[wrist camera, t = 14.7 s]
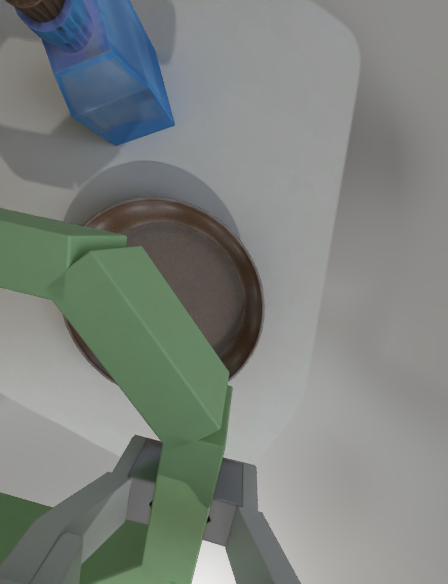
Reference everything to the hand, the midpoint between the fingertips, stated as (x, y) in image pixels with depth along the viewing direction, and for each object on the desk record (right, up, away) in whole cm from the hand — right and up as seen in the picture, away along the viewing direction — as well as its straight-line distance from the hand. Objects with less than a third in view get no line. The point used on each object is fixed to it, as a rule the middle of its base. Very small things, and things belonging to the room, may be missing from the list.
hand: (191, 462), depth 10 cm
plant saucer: (-5, +6, +18) cm, 20 cm away
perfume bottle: (-7, +25, +14) cm, 29 cm away
